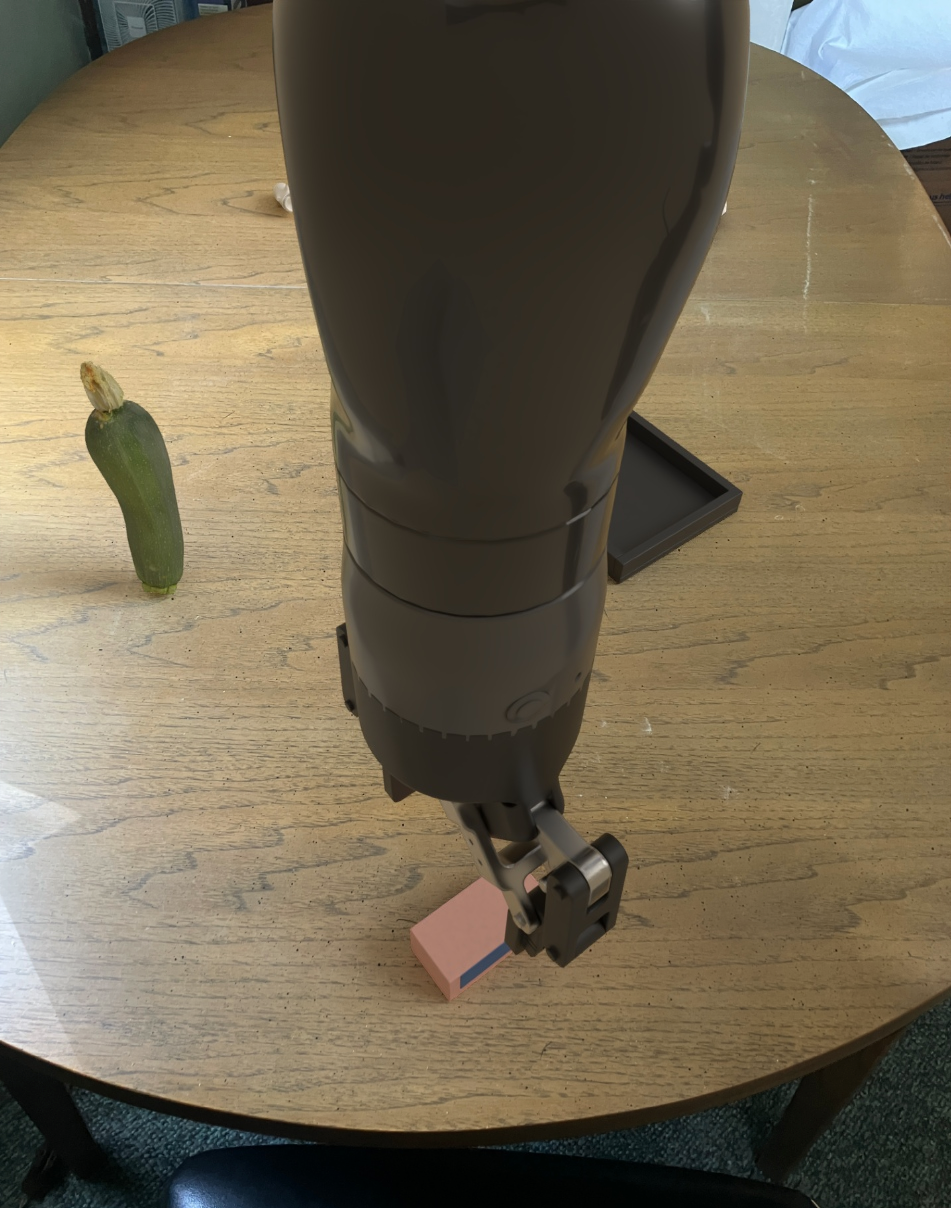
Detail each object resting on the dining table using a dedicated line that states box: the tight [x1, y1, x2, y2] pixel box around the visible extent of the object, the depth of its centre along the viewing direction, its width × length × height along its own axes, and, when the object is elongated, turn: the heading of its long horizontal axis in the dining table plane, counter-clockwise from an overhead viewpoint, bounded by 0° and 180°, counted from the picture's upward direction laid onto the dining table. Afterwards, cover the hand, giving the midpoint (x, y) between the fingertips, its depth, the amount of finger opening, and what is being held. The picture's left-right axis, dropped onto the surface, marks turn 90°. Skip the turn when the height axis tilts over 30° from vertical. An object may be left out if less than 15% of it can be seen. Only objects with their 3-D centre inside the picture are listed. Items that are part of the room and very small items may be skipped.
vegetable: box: [79, 360, 185, 595], centre depth 60 cm, size 4×4×20 cm
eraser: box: [409, 873, 539, 1002], centre depth 51 cm, size 4×7×3 cm, turn 128°
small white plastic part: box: [272, 182, 293, 213], centre depth 101 cm, size 4×6×3 cm, turn 178°
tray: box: [607, 409, 744, 585], centre depth 75 cm, size 18×13×2 cm
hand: (466, 857), depth 41 cm, fingers open, 8 cm apart
